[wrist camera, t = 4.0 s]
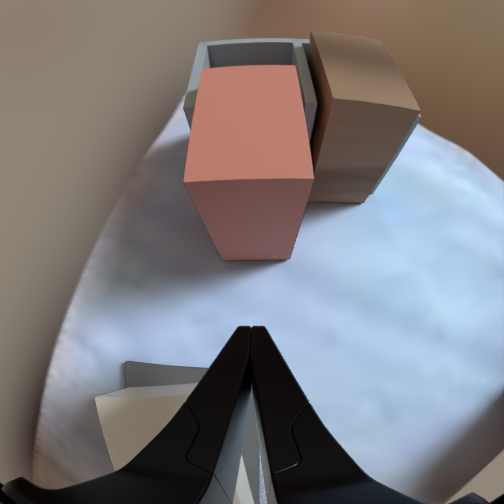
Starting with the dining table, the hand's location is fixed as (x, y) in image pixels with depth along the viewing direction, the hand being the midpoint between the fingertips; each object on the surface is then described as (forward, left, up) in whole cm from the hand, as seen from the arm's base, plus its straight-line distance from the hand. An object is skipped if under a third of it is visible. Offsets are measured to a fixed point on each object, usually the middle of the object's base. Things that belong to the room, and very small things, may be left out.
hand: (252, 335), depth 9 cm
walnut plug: (+11, -5, -7) cm, 14 cm away
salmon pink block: (+7, 0, -7) cm, 11 cm away
